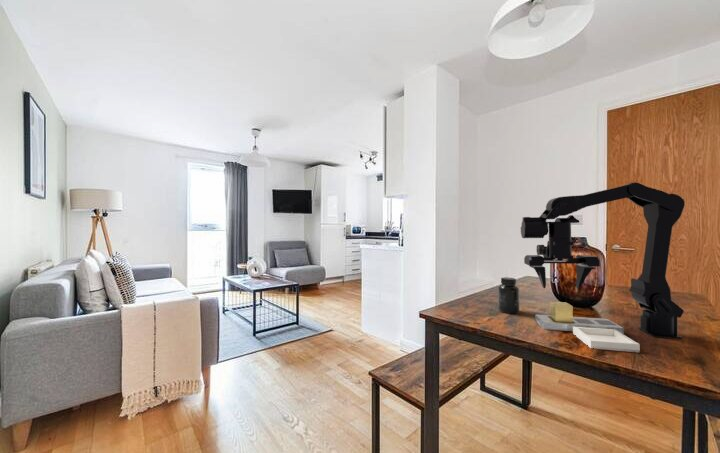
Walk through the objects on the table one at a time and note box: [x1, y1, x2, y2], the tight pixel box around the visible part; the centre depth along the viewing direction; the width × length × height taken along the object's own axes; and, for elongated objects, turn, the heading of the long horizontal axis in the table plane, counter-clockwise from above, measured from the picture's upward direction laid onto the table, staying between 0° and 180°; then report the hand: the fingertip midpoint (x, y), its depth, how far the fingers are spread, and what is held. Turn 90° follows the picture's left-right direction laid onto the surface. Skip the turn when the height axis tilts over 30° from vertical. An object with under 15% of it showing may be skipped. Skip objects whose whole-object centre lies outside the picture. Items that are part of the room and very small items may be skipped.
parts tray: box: [572, 327, 641, 354], centre depth 77 cm, size 10×10×2 cm
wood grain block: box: [549, 301, 574, 323], centre depth 89 cm, size 4×4×7 cm
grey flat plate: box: [534, 314, 625, 335], centre depth 88 cm, size 20×8×2 cm, turn 75°
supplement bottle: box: [497, 276, 520, 314], centre depth 105 cm, size 7×7×12 cm
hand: (560, 288), depth 89 cm, fingers open, 9 cm apart
